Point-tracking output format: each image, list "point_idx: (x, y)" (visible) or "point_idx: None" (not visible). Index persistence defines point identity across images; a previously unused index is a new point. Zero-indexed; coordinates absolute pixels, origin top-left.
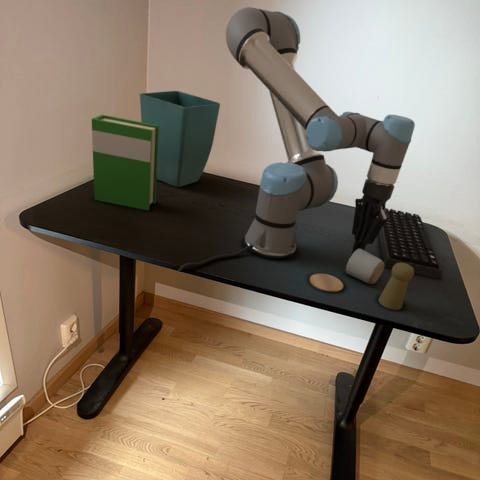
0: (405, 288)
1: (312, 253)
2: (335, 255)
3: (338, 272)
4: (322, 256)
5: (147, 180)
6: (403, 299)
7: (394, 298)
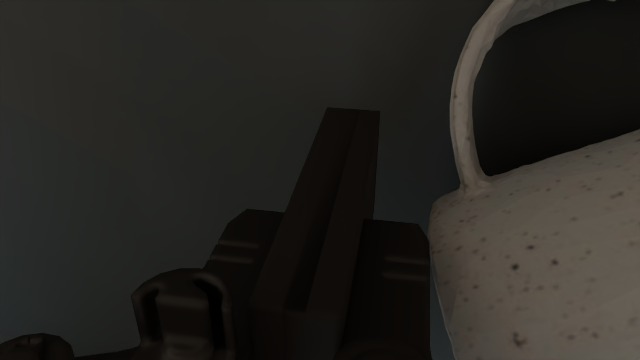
0: None
1: (114, 334)
2: (122, 171)
3: (442, 329)
4: None
5: None
6: None
7: None
